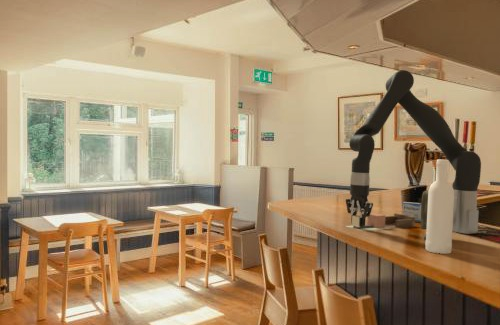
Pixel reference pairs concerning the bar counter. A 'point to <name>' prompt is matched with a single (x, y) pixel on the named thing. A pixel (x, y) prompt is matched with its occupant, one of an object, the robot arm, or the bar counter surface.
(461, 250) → the bar counter surface
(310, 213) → the bar counter surface
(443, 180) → the bottle
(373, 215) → the pull block
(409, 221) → the shelf lane
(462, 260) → the bar counter surface
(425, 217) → the tabletop clock
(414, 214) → the medicine box
